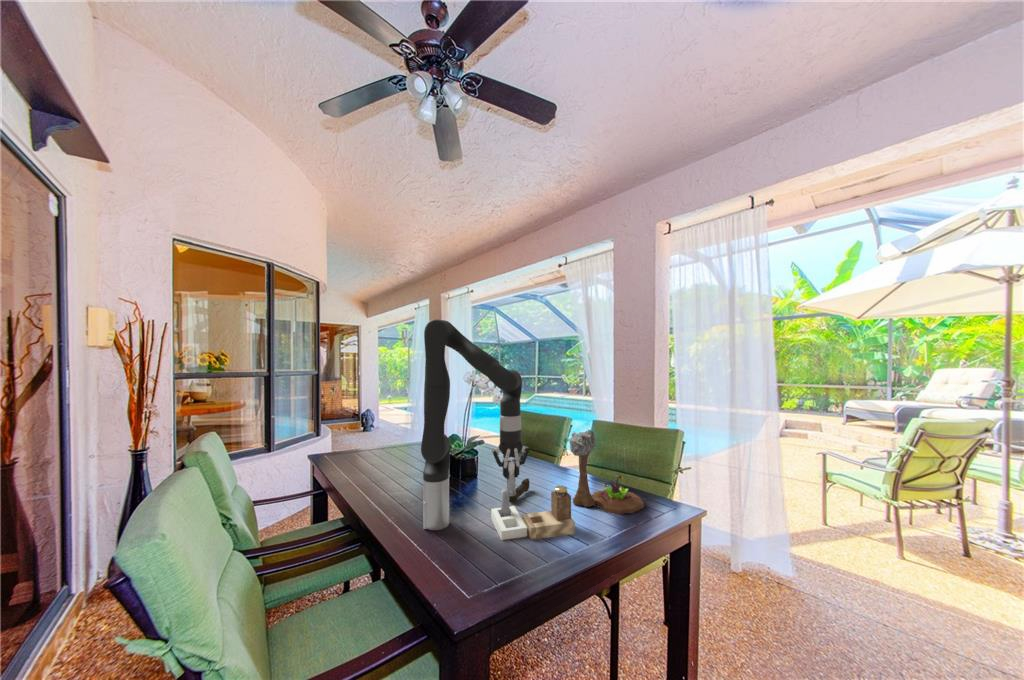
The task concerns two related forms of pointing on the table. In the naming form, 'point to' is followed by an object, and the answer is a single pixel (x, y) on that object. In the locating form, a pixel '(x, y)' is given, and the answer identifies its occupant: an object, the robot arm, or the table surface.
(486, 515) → the table surface
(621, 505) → the plant
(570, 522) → the socket block
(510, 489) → the grey rectangular bar
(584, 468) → the tree sculpture
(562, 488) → the gold topped knob
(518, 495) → the hand tool
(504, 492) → the rack
